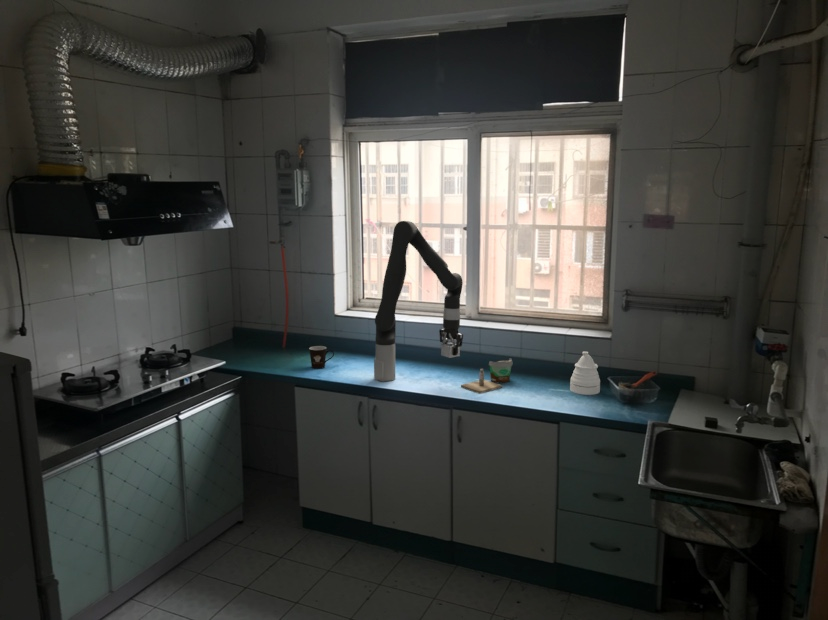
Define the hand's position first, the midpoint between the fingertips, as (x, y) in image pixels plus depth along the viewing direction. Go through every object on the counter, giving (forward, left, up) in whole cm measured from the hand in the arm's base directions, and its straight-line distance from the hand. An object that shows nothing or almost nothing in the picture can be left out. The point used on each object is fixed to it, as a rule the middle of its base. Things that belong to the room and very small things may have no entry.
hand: (450, 353), depth 295 cm
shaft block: (+8, -12, -15) cm, 21 cm away
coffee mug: (-32, +62, -15) cm, 71 cm away
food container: (+22, -12, -15) cm, 29 cm away
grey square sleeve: (0, 0, -1) cm, 1 cm away
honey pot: (+41, -44, -15) cm, 62 cm away
